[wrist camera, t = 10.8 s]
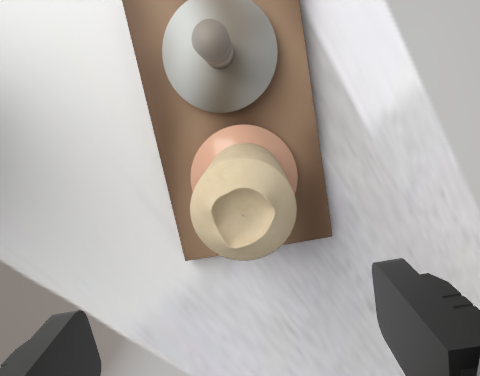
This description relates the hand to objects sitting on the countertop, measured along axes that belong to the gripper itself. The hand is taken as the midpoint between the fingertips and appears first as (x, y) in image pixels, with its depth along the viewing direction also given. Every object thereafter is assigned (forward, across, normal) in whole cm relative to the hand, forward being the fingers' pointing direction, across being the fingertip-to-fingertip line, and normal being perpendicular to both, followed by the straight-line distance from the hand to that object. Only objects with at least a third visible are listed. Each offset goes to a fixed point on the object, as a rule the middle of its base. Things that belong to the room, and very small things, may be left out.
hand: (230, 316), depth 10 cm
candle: (+18, 0, 0) cm, 18 cm away
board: (+20, 0, -4) cm, 20 cm away
